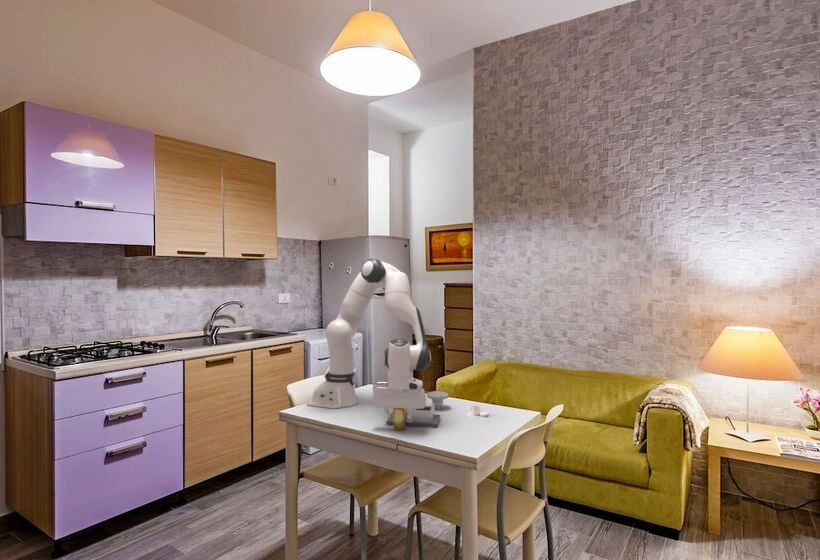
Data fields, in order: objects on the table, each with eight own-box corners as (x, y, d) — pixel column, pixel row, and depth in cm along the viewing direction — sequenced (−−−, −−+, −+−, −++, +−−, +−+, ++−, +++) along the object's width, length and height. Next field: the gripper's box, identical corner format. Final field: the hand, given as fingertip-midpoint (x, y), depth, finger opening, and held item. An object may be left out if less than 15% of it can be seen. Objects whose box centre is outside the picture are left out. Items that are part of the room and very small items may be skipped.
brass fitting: (392, 430, 173) (392, 409, 173) (394, 427, 177) (394, 406, 177) (403, 431, 172) (403, 410, 172) (405, 427, 176) (406, 406, 176)
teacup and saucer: (491, 417, 191) (491, 407, 191) (476, 420, 187) (476, 410, 187) (478, 412, 199) (478, 402, 199) (463, 414, 195) (463, 405, 195)
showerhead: (425, 389, 208) (447, 389, 208) (425, 405, 208) (447, 405, 208) (425, 394, 198) (449, 394, 198) (425, 410, 198) (449, 411, 198)
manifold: (386, 424, 179) (386, 410, 179) (392, 415, 191) (392, 402, 191) (437, 427, 176) (437, 413, 176) (440, 418, 188) (440, 405, 188)
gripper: (370, 383, 173) (370, 419, 173) (424, 385, 170) (424, 422, 170) (374, 379, 179) (374, 415, 179) (426, 381, 176) (426, 417, 176)
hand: (399, 418), depth 174 cm, fingers open, 7 cm apart
